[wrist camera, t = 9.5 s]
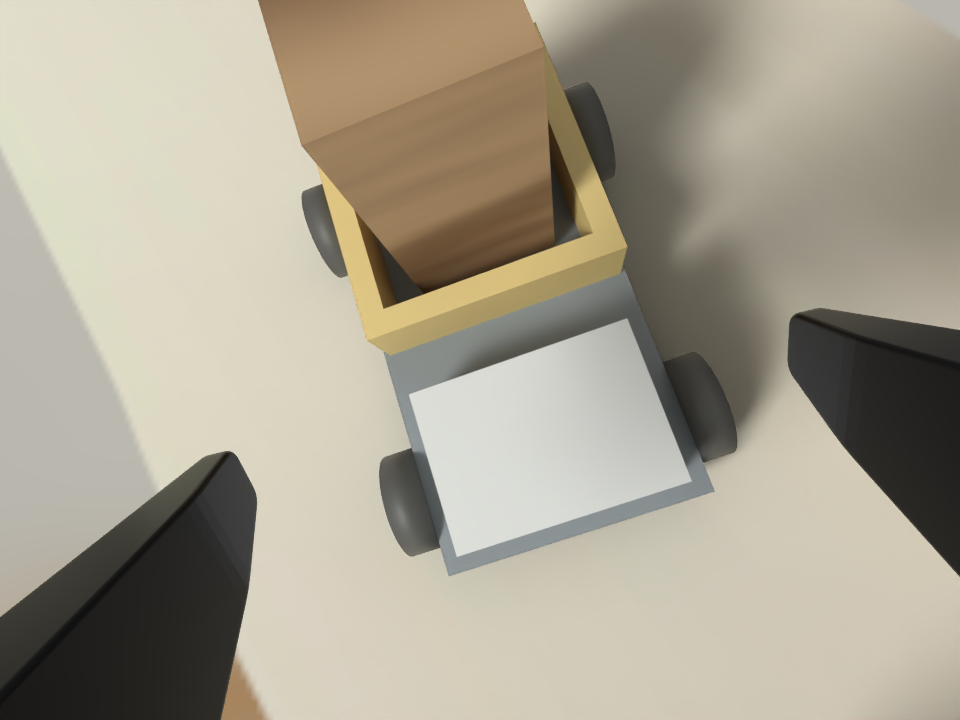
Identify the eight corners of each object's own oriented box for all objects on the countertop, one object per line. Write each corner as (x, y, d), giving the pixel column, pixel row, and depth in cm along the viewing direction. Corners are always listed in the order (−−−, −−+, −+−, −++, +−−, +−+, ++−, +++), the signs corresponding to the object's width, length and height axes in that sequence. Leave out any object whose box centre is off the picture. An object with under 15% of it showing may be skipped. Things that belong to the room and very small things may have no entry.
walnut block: (554, 246, 21) (543, 46, 11) (424, 295, 21) (301, 145, 11) (508, 129, 22) (460, -146, 12) (385, 178, 22) (243, -51, 12)
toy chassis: (728, 478, 21) (780, 481, 16) (433, 572, 22) (392, 604, 17) (573, 102, 24) (575, 6, 19) (325, 196, 25) (266, 129, 20)
